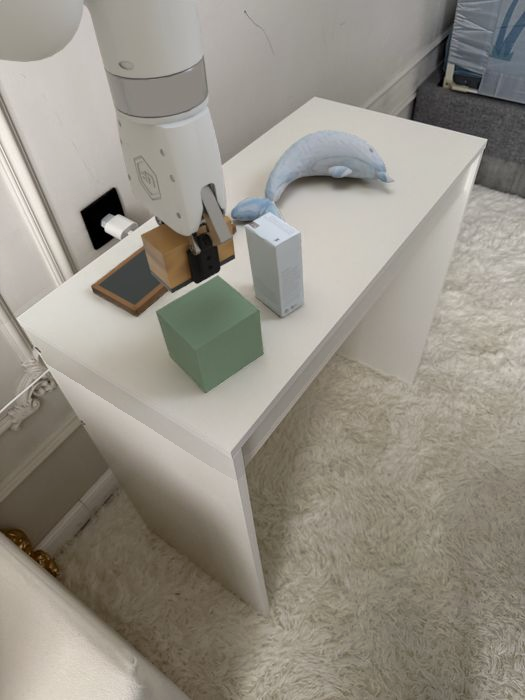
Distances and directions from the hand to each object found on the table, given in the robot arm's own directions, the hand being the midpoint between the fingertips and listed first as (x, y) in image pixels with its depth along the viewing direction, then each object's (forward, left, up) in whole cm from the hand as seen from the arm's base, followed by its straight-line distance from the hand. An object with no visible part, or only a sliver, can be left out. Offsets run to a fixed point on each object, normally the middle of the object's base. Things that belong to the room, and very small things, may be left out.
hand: (193, 263), depth 54 cm
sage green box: (0, 0, -15) cm, 15 cm away
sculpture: (+32, +15, -15) cm, 38 cm away
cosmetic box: (+12, +2, -15) cm, 20 cm away
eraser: (0, 0, 0) cm, 0 cm away
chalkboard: (+6, +20, -15) cm, 25 cm away
